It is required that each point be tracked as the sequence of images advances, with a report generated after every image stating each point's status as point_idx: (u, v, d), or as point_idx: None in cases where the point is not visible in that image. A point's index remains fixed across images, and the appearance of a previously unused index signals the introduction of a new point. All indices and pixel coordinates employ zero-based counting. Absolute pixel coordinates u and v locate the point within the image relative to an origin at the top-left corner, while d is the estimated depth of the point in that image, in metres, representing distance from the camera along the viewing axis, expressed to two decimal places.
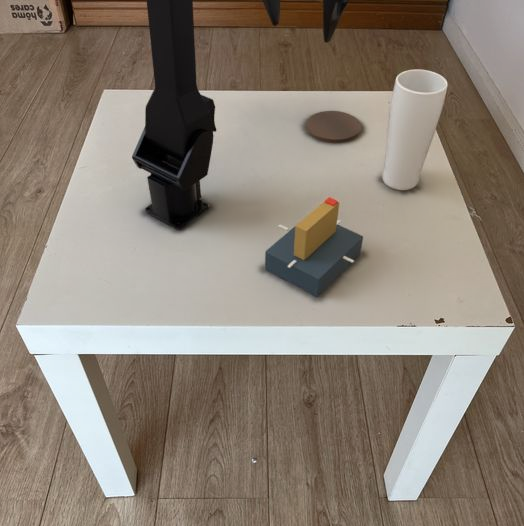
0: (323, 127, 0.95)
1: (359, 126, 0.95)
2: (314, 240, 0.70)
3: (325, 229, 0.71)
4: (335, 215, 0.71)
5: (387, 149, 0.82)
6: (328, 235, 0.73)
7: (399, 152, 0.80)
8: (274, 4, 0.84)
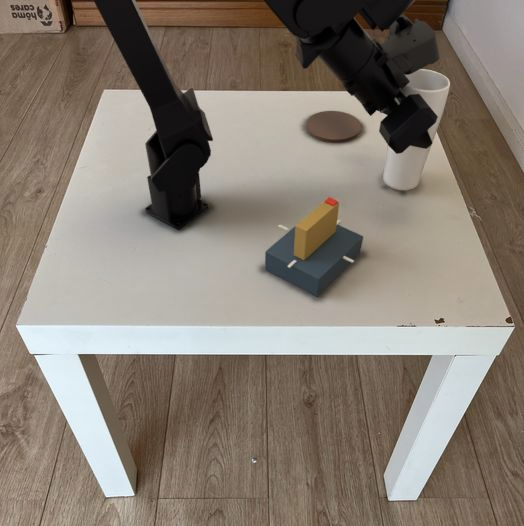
0: (323, 127, 0.95)
1: (359, 126, 0.95)
2: (314, 240, 0.70)
3: (325, 229, 0.71)
4: (335, 215, 0.71)
5: (388, 148, 0.81)
6: (328, 235, 0.73)
7: None
8: None
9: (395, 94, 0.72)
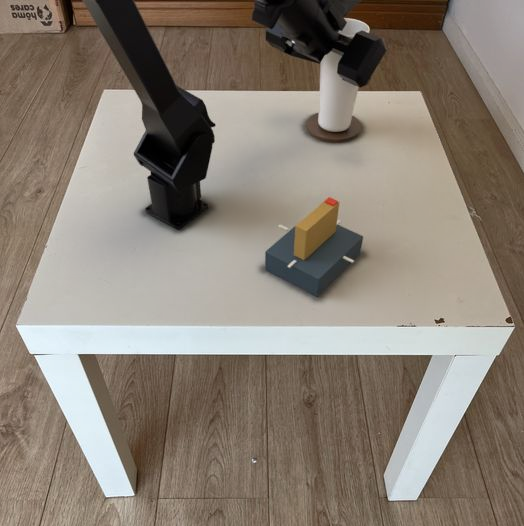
0: None
1: (359, 126, 0.95)
2: (314, 240, 0.70)
3: (325, 229, 0.71)
4: (335, 215, 0.71)
5: (325, 97, 0.89)
6: (328, 235, 0.73)
7: (340, 95, 0.88)
8: None
9: (337, 37, 0.80)
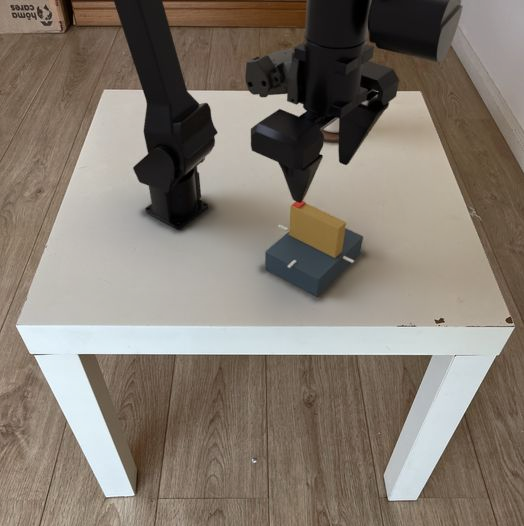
0: None
1: None
2: None
3: None
4: None
5: None
6: None
7: None
8: None
9: None
